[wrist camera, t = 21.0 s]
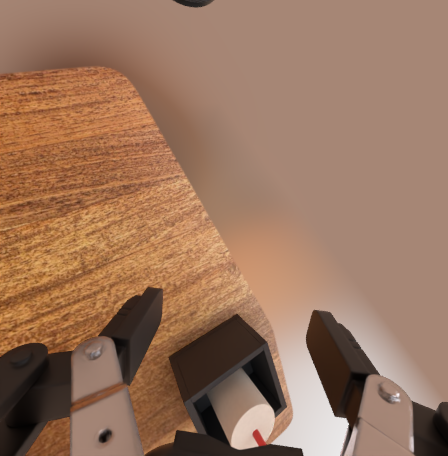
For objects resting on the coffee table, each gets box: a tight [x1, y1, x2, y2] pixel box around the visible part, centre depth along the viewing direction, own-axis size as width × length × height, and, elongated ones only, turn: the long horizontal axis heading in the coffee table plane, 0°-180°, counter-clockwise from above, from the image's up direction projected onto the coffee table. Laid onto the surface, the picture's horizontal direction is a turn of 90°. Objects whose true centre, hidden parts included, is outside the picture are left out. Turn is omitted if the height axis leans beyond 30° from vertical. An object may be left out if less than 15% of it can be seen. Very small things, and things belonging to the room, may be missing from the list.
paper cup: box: [206, 368, 275, 450], centre depth 26 cm, size 6×6×16 cm
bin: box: [169, 314, 287, 446], centre depth 30 cm, size 12×12×8 cm
